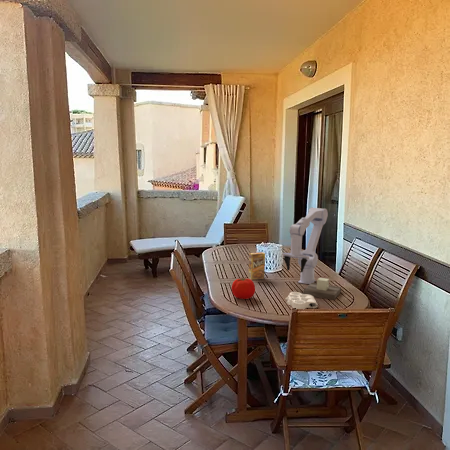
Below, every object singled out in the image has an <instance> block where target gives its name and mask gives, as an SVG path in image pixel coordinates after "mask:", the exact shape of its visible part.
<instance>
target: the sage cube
mask: <svg viewBox="0 0 450 450" xmlns="http://www.w3.org/2000/svg"><path fill="white" fill-rule="evenodd" d="M329 281H330V279H329V278H324V277H319V278H317V280H316V283H317V289H319V290H325V291H326V290H327V289H328V286H329V285H330V284H329V283H330V282H329Z"/></svg>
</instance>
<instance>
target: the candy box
mask: <svg viewBox="0 0 450 450" xmlns="http://www.w3.org/2000/svg"><path fill="white" fill-rule="evenodd" d="M265 263H266V252H262V251H259V252H249V253H248V276H247V277H248V278H247V279H251V280H252V281H253V280H262V279H263V280H264V279H265V273H266V271H265V270H266V269H265V267H266V266H265V265H266V264H265Z"/></svg>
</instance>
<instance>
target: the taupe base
mask: <svg viewBox="0 0 450 450" xmlns="http://www.w3.org/2000/svg"><path fill="white" fill-rule="evenodd" d="M341 292H342V287H341V286H338V285H337V286H336V285H330V284H329V286H328V289H327V290H326V291H325V290H319V289H317V282H314V283H311V284H308V285H307V286H306V287H305V288H304V289H303V291H302V294H308V295H312V296H313V297H314V298H321V299H327V300H333V301H334V300H336V299H337V297H338V296H339V294H341Z"/></svg>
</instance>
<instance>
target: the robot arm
mask: <svg viewBox="0 0 450 450" xmlns="http://www.w3.org/2000/svg"><path fill="white" fill-rule="evenodd" d="M328 216H329V214H328V209H327V208H320V207H312V206H311V207H310V208H309V209H308V213H307V215H305V217H301V218H300V219H299V220H298V221H297V222H296V223H293V224H291V225H290V227H289V233H290V236H289V237H290V240H291V241H290V252H282V257H283V260H284V263H285V266H286V270H287V271H289V270H290V269H291V266H290V265H291V258H293V259H297V263H298V265H299V267H300V278H299V279H300V280H298V281H297V283H299V284H304V285H310V284H311V283H316V282H317V280H316V279H315V268H316V267H317V265H318V260H319V255H318V254H317V253H316V249H317V245H318V242H319V239H320V236H321V233H322V229H323V227H324V225H325V224H326V222H327V220H328ZM310 223H311V224H312V225H313V227H312V229H311V233H310V236H309V239H308V243H307V245H306V249H304V250H302V249H303V248H302V245H303V244H302V243H303V236H304V235H305V232H306V229H307V228H308V227H309V226H310Z"/></svg>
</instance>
